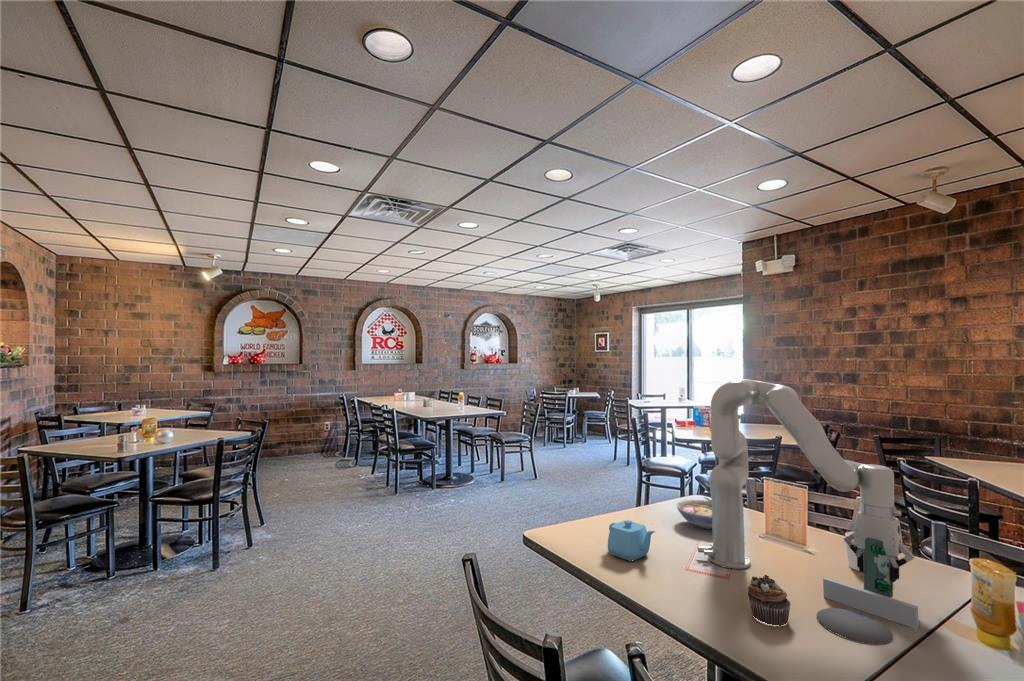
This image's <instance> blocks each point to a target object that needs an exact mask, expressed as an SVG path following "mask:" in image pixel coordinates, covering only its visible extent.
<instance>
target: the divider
mask: <svg viewBox="0 0 1024 681" xmlns="http://www.w3.org/2000/svg"><path fill="white" fill-rule="evenodd" d="M822 583H823V586H822V587H823V598H825V599H828V600H830V599H831V601H833V600H834V602H836V603H840V604H842V605H845V606H848V607H851V608H854V609H856V608H857V609H856V610H859V609H860V610H859V611H862V610H863V611H862V612H865V611H866V613H868V612H869V613H868V614H871V613H872V615H874V614H875V615H874V616H877V615H878V616H877V617H879V616H881V617H880V618H882V617H883V619H885V618H887V619H886V620H888V619H890V620H889V621H891V620H892V621H891V622H894V621H895V623H897V622H898V623H897V624H900V623H901V624H900V625H903V626H905V625H906V627H908V626H909V628H911V627H912V629H915V630H918V629H919V627H920V624H919V623H920V621H919V606H917V605H914V604H912V603H909V602H905V601H902V600H899V599H896V598H893V597H891V598H890V597H887V596H883V595H880V594H877V593H874V592H871V591H868V590H864V588H860V587H857V586H855V585H852V584H848V583H846V582H841V581H839V580H835V579H833V578H829V577H824V578H822Z"/></svg>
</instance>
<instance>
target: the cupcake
mask: <svg viewBox="0 0 1024 681" xmlns="http://www.w3.org/2000/svg"><path fill="white" fill-rule="evenodd" d="M747 591H748V592H747V598H748V602H749V605H750V610H751V613H752V614H753V615H752V614H751V615H752V617H753V616H754V617H755V618H757V619H758V620H760V621H762V622H765V623H767V624H772V625H779V626H781V625H784V624H786V623H787V622H789V617H790V610H791V604H792V603H791V601H790V600H789V599H788V598H787V597H788V594H787V591H785V590H784V589H783V588H782V587H781V586H780V585H779V584H778V582H776V581H775V579H773V578H770V576H769V575H767V574H764V575H763V576H762V577H760V576H759V577H757V576H752V577H751V579H750V583H749V585H748V586H747ZM754 617H753V618H754ZM787 624H788V623H787Z"/></svg>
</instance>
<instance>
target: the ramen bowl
mask: <svg viewBox="0 0 1024 681" xmlns="http://www.w3.org/2000/svg"><path fill="white" fill-rule="evenodd" d="M675 506H676V508H677V510H678V512H679V513H680V515H681V516H682V517H683V519H684V520H686V522H688V523H690V524H692V525H694V526H697V527H698V528H700V529H705V530H712V500H711V499H710V498H707V497H704V499H683V500H681V501H678V502H677V503H676V504H675Z"/></svg>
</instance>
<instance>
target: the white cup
mask: <svg viewBox="0 0 1024 681" xmlns="http://www.w3.org/2000/svg"><path fill="white" fill-rule="evenodd" d="M854 532H855V531H846V532H845V534H844V535H845V536H844V538H846V537H848V536H849V535H851V534H853V533H854ZM852 541H853V543H854V544H855V542H854V539H853V540H852ZM845 547H846V556H847V560H848V567H849V568H851V569H853V570H854V571H858V572H859V567H857V556H856V555H855V553H854V552H853V551H852V550H851V548H850V546H848V544H847V543H846V542H845ZM857 547H858V546H857ZM858 548H859V547H858Z"/></svg>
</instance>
